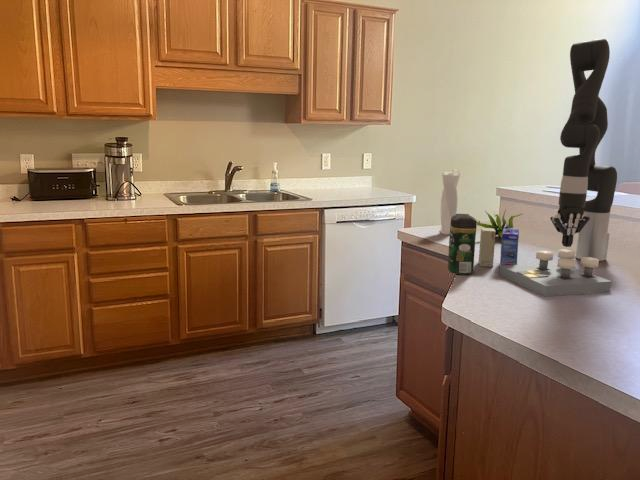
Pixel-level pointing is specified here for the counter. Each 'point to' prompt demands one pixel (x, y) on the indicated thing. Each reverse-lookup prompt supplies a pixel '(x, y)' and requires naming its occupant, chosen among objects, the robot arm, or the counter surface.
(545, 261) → the button
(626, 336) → the counter surface
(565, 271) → the button
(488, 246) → the skincare box
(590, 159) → the robot arm
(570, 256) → the button
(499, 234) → the decorative plant
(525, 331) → the counter surface
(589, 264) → the button
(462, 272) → the coffee jar
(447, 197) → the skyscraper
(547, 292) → the board
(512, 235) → the ink cartridge box
